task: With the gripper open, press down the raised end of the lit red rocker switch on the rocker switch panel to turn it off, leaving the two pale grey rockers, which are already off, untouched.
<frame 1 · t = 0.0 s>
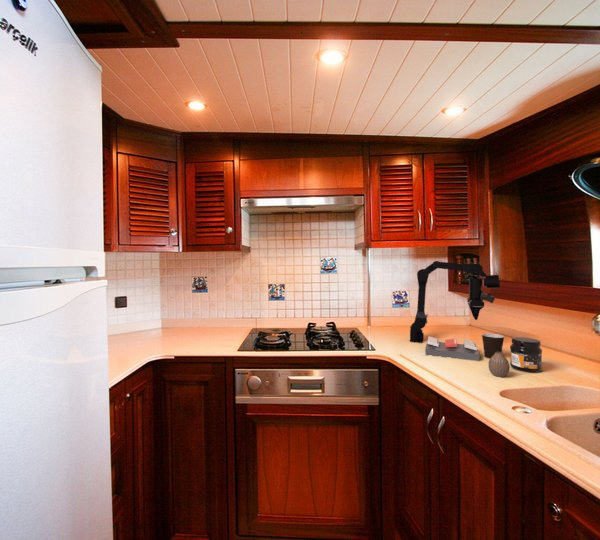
hand: (475, 318, 161), 15 cm above the worktop, fingers open, 9 cm apart
rocker red: (451, 342, 152), point 5 cm above the worktop, hinge at -12.0°
rocker switch panel: (451, 353, 150), on the worktop
rocker right: (470, 344, 148), point 5 cm above the worktop, hinge at 12.0°
coffee mug: (494, 357, 144), on the worktop
supplement container: (525, 369, 128), on the worktop
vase: (498, 375, 120), on the worktop
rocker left: (433, 341, 155), point 5 cm above the worktop, hinge at 12.0°
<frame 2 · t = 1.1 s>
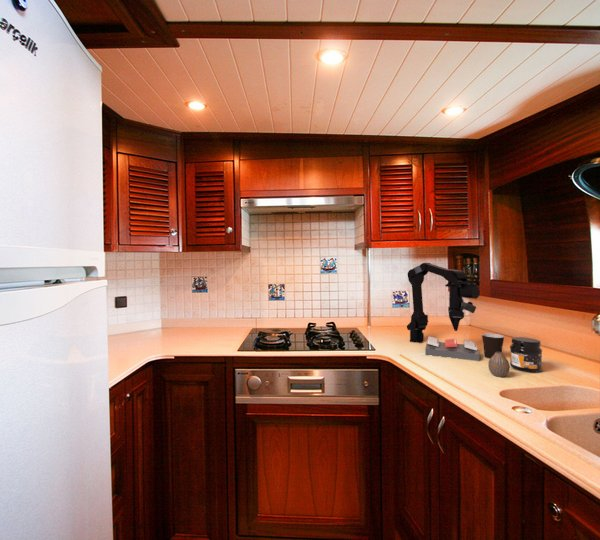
hand: (455, 329, 151), 11 cm above the worktop, fingers open, 9 cm apart
nothing on the worktop moved.
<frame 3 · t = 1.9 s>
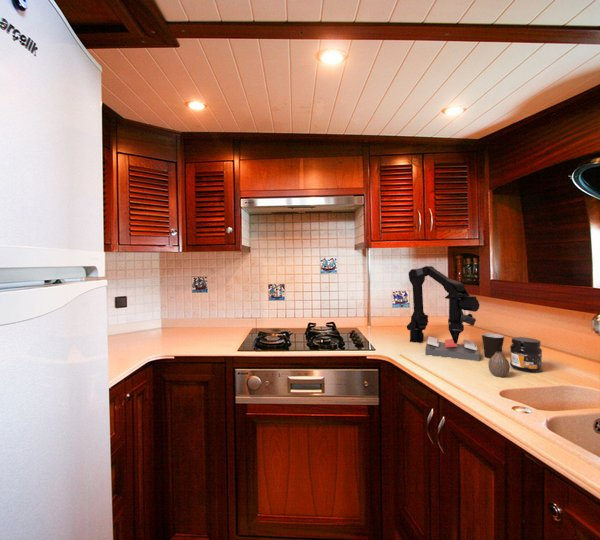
hand: (455, 341, 151), 5 cm above the worktop
rocker red: (451, 342, 152), point 5 cm above the worktop, hinge at -11.9°, touching gripper
everything else where it was.
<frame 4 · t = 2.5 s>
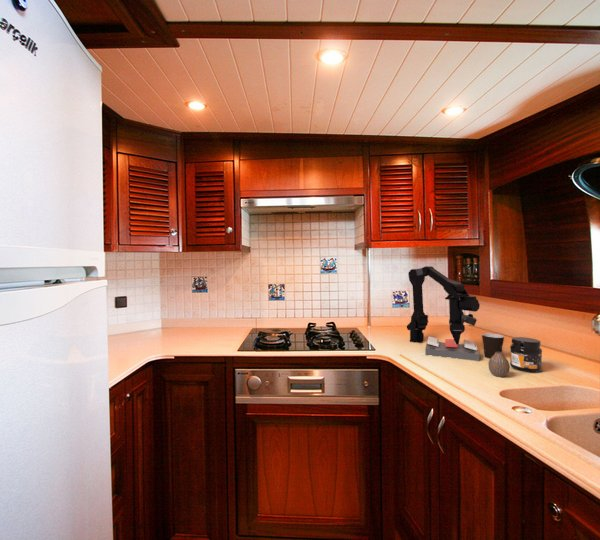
hand: (457, 341, 150), 5 cm above the worktop
rocker red: (451, 342, 152), point 5 cm above the worktop, hinge at -3.9°, touching gripper
everything else where it was.
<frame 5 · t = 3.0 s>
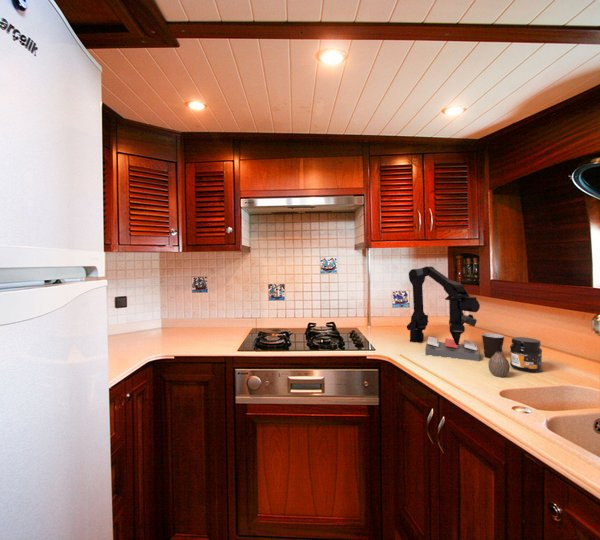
hand: (456, 342, 151), 5 cm above the worktop
rocker red: (451, 342, 152), point 5 cm above the worktop, hinge at 4.4°, touching gripper
everything else where it was.
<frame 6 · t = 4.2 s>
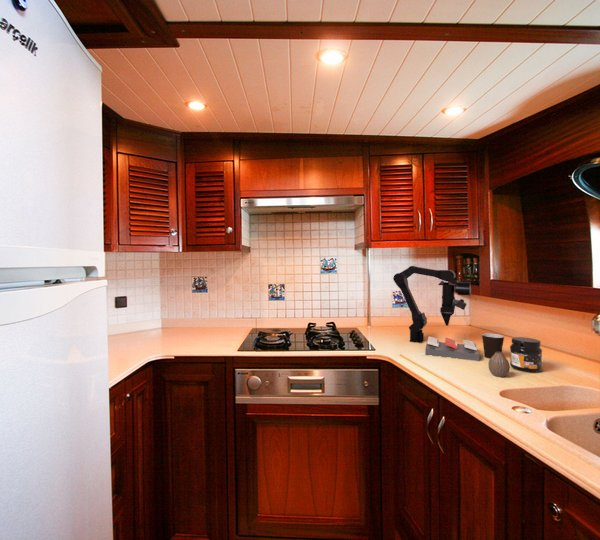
hand: (447, 324, 164), 11 cm above the worktop, fingers open, 9 cm apart
rocker red: (451, 342, 152), point 5 cm above the worktop, hinge at 16.9°
everything else where it was.
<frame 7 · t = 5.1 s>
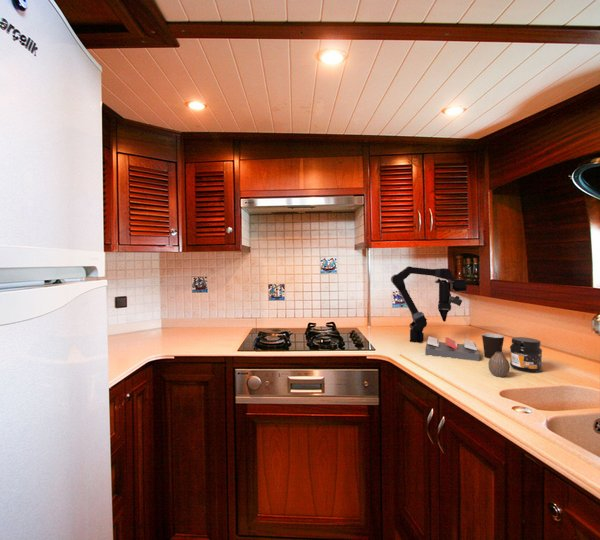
hand: (444, 320, 171), 12 cm above the worktop, fingers open, 9 cm apart
rocker red: (451, 342, 152), point 5 cm above the worktop, hinge at 23.6°, touching rocker switch panel
everything else where it was.
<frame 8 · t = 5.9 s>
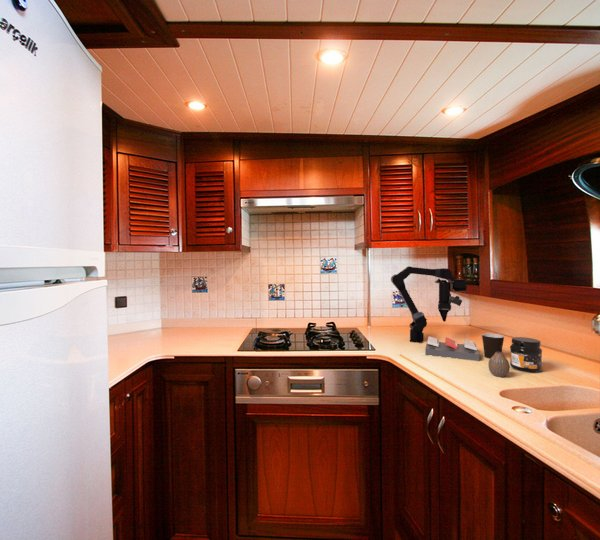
hand: (444, 320, 171), 12 cm above the worktop, fingers open, 9 cm apart
rocker red: (451, 342, 152), point 5 cm above the worktop, hinge at 20.1°
everything else where it was.
at the end: rocker red at +20° (first picture: -12°); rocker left at +12° (first picture: +12°); rocker right at +12° (first picture: +12°) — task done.
